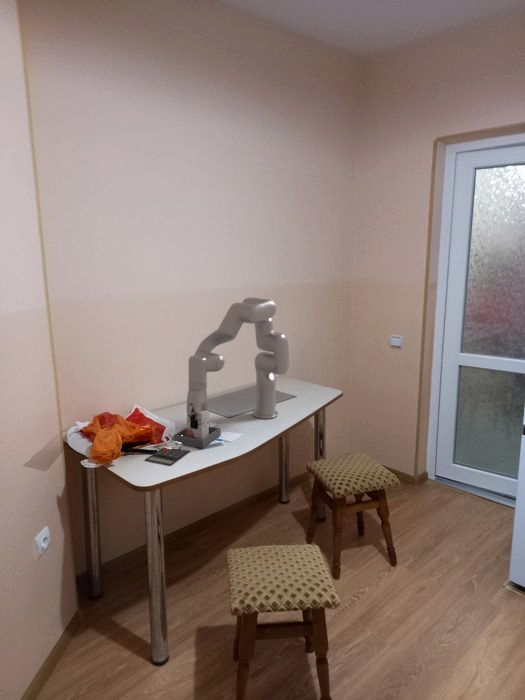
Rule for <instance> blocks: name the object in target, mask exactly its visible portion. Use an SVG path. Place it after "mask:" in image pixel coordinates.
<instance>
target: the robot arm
mask: <svg viewBox="0 0 525 700" xmlns="http://www.w3.org/2000/svg"><path fill="white" fill-rule="evenodd" d="M276 312H277V305H276V303H275V302H274V301H273V300H272V299H267V298H259V297H245V298H244V299H243V300H242V302H235V303H232V304H231V305H230V306H229V308H228V310H227V312H226V313H225V316H224V317H223V319H222V321H221V323H220V324H219V326H218V328H217V329H216V330H215V331H213V332H212V333H209V335H207V336H206V337H205V338H203V340H202V341H201V342H200V343H199V345H198V347H197V348H196V350H195V352H194V355H191V356H189V358H188V390H187V396H186V416H187V415H188V416H189V418H190V428H193V429H198V420H197V413H199V412H200V411H202V410H204V403H208V392H207V388H208V387H207V383H208V382H207V381H208V379H207V378H208V377H207V375H208V373H211V372H213V373H215V372H219V371H221V370H222V369H223V368H224V366H225V363H226V362H225V358H224V357H223V356H222V355H220V354H218V353H214V352H212V351H213V350H214V349H215V348H216V347H218V346H220V345H222V344H226V343H228V342H232V341H234V340H235V339H236V337H237V335H238V333H239V331H240V329H241V328H242V325H244V323H245V324H249V325H250V324H251V325H253V324H254V330H255V342H256V346H257V349H259V350H261V351H262V352H261V351H260V352H258V354H257V355H256V356H255V357H254V367H255V374H256V375H255V376H256V379H255V380H256V381H255V382H256V383H255V384H256V386H255V389H256V390H255V409H254V410H252V413H251V414H252V416H253V417H255V418H258V419H262V420H270V419H274V418H277V417H278V415H279V412H278V411H277V410H276V405H277V404H276V384H277V383H276V382H277V381H276V376H275V375H279V376H283V375H285V374H287V373H288V371H289V369H290V348H289V341H288V337H287V336H286V335H285V334H284V333H281V332H276V331H275V330H274V324H273V319H272V318H274V316H275V314H276ZM193 411H195V412H193ZM187 412H188V414H187ZM193 414H195V416H194V415H193Z"/></svg>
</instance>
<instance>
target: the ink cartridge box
mask: <svg viewBox="0 0 525 700" xmlns="http://www.w3.org/2000/svg"><path fill="white" fill-rule="evenodd" d="M193 412H195V411H193ZM187 414H188V412H187V411H186V427H187V435H189V436H192V437H195V438H199V439H204V438H205V437H207V436H208V435H209V426H210V418H209V416H210V410H209V403H208V402H207V403H204V410H202V411H200V412H199V413H197V420H198V429H193V428H190V418H189V416H188V415H187ZM193 415H194V416H195V414H193Z"/></svg>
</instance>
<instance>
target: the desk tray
mask: <svg viewBox="0 0 525 700" xmlns="http://www.w3.org/2000/svg"><path fill="white" fill-rule="evenodd" d="M221 431H222V429H221V427H216V426H215V427H214V426H210V425H209V435H208V436H207V437H205V438H204V439H199V438H195V437H192V436H189V435H187V426H186V427H184V428H182V429H181V430H179V431H178V432H176V433H174V434H173V435H172V436H173V438H172V439H173V440H172V442H173V441H178V442H181V443H182V444H183V445H182V446H185V447H191V448H195V449H200V450H204V449H205V448H207V447H208V446H210V445H211V444H212V443H213V442H215V441H216V440H217V439H219V438H220V437H221V435H222V433H221ZM181 435H183V436H181ZM219 436H220V437H219ZM218 437H219V438H218ZM216 438H217V439H216ZM215 439H216V440H215ZM214 440H215V441H214ZM212 441H213V442H212ZM211 442H212V443H211ZM210 443H211V444H210ZM207 445H208V446H207Z"/></svg>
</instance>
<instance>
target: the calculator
mask: <svg viewBox="0 0 525 700" xmlns="http://www.w3.org/2000/svg"><path fill="white" fill-rule="evenodd" d="M189 453H191V450H188V449H182V448H178V449H171V450H170V449H167V448H163V447H162V448H159V450H158V451H155V452H154V453H152V454H151V455H149V456H148V457H147V458H145V459H144V461H146V462H148V463H153V464H158V465H159V464H160V465H164V466H168V467H172V466H173V465H175V464H176V463H177V462H178V461H180V460H181V459H182V458H183V459H184V457H186V456H187V455H188V454H189Z"/></svg>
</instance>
